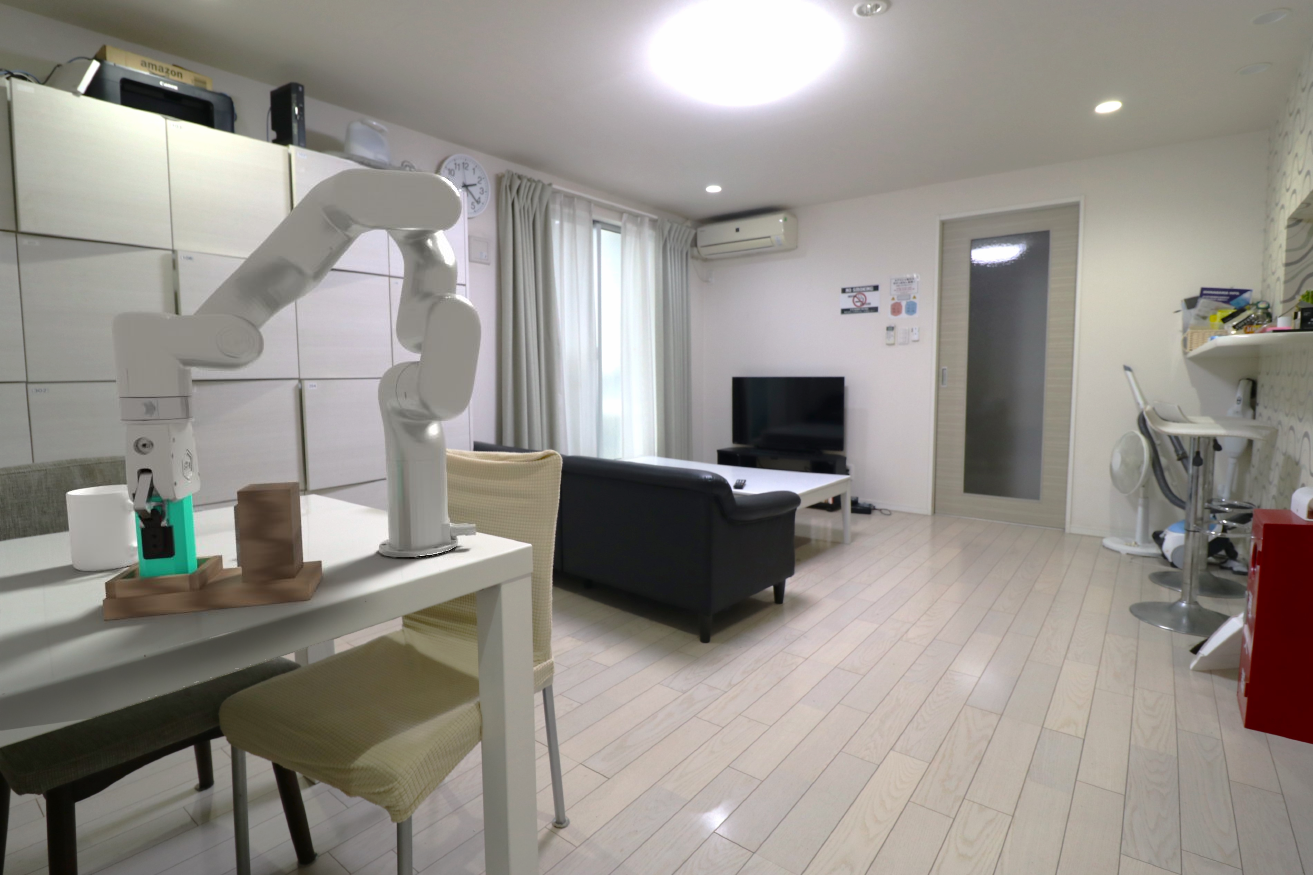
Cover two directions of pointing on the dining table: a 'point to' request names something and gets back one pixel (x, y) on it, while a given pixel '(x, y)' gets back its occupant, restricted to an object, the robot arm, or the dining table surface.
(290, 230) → the robot arm
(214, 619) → the dining table surface
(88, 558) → the mug
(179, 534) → the candle
